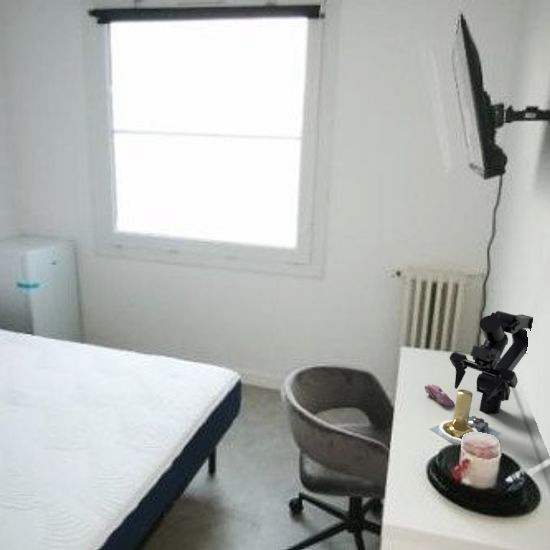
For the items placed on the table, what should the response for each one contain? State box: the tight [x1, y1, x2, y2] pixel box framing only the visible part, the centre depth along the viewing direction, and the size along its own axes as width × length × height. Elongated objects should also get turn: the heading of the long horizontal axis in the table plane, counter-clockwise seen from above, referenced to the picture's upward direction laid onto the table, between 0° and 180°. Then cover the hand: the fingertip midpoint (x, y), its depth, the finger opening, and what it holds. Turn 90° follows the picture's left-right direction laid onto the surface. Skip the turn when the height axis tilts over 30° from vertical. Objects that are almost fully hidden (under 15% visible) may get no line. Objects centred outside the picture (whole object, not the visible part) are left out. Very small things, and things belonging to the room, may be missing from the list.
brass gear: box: [445, 389, 474, 439], centre depth 144 cm, size 7×7×13 cm
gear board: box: [429, 418, 501, 446], centre depth 148 cm, size 17×12×2 cm
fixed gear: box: [468, 415, 489, 432], centre depth 150 cm, size 7×7×2 cm
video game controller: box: [424, 383, 455, 407], centre depth 165 cm, size 10×5×7 cm, turn 21°
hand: (470, 394), depth 146 cm, fingers open, 9 cm apart
